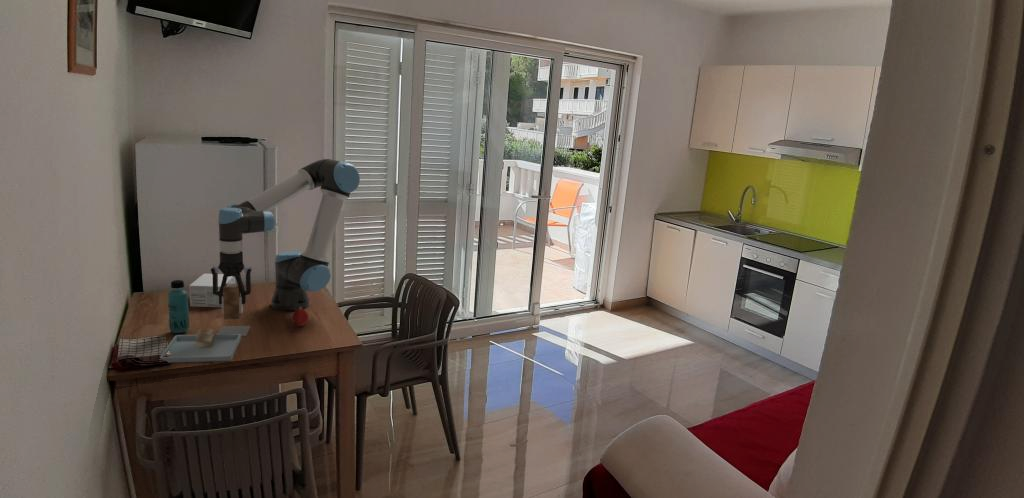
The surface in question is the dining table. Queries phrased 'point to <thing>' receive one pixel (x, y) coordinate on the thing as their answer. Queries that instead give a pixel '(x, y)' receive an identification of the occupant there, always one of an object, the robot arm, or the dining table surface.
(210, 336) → the birch block
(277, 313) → the dining table surface
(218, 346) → the bin
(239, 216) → the robot arm
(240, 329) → the slate coaster
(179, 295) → the beverage bottle
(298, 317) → the onion
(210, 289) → the supplement box
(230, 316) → the walnut box
